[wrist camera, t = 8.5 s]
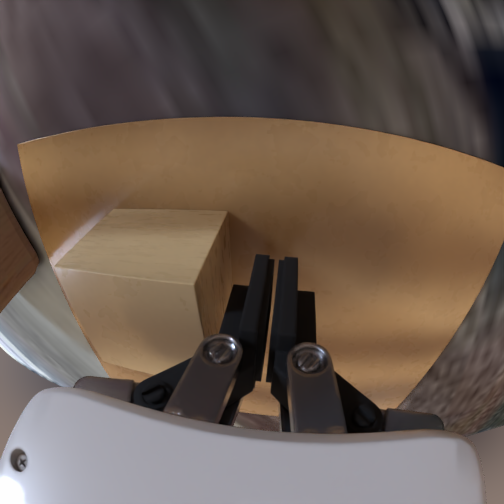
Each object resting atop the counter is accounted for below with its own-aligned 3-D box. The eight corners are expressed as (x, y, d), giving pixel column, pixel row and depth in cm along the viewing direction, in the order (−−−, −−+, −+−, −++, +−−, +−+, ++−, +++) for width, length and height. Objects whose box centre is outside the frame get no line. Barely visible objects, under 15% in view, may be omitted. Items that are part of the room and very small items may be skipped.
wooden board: (19, 143, 12) (17, 144, 11) (522, 175, 9) (525, 176, 9) (114, 381, 25) (113, 382, 25) (388, 414, 22) (388, 416, 22)
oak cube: (113, 208, 13) (52, 266, 9) (228, 210, 12) (194, 284, 8) (138, 298, 16) (102, 361, 12) (234, 309, 16) (215, 386, 12)
